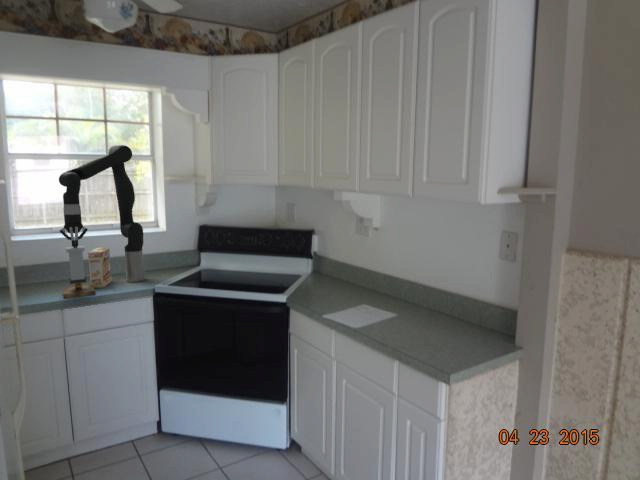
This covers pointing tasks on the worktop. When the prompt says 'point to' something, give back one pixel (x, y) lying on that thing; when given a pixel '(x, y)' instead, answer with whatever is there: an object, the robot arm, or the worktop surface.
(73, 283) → the thin charcoal panel
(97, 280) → the coffeecake box
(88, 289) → the walnut board
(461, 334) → the worktop surface
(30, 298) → the worktop surface
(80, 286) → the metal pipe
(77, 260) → the plastic sleeve
